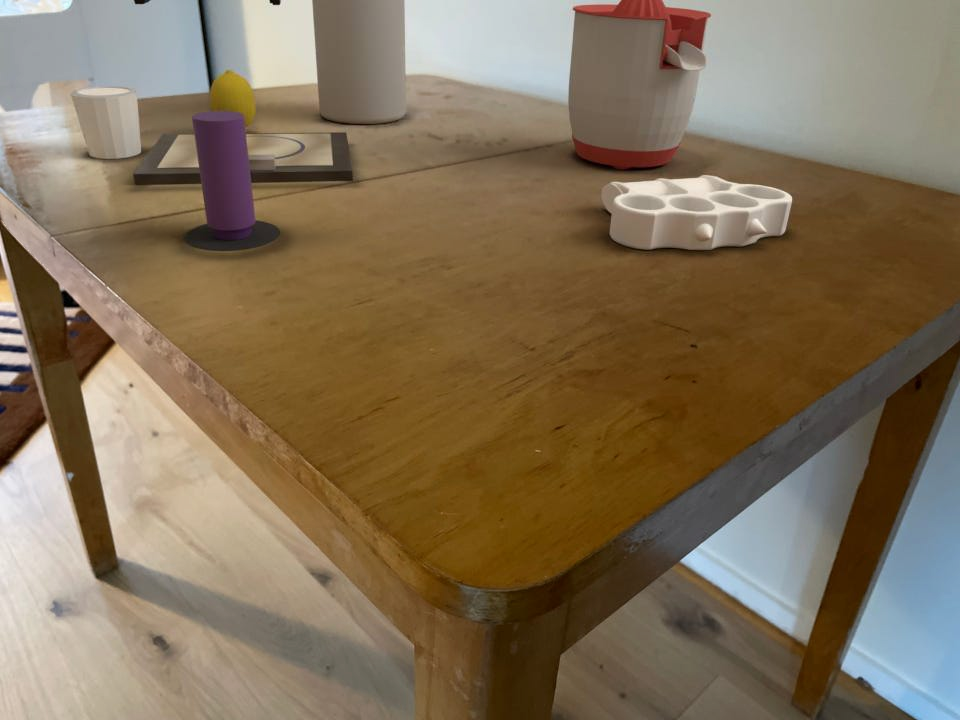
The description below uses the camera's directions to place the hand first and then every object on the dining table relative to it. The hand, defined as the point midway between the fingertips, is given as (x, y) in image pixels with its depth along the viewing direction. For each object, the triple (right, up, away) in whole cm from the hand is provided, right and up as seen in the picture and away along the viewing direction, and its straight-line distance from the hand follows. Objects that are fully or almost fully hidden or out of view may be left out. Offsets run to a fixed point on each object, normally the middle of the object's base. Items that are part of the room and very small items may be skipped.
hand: (210, 3), depth 59 cm
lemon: (-11, +2, +43) cm, 44 cm away
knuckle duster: (+40, -15, +15) cm, 46 cm away
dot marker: (-1, -16, +8) cm, 18 cm away
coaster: (-1, -17, +9) cm, 19 cm away
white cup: (-22, -3, +33) cm, 40 cm away
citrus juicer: (+39, -3, +37) cm, 54 cm away
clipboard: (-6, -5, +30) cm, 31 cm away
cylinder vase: (+3, +8, +55) cm, 56 cm away
